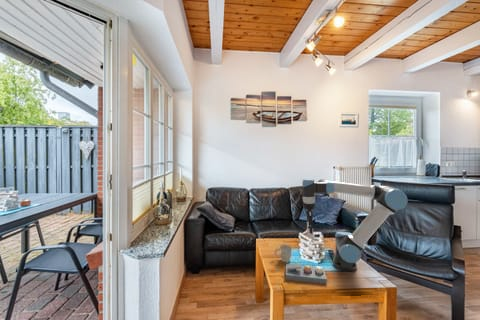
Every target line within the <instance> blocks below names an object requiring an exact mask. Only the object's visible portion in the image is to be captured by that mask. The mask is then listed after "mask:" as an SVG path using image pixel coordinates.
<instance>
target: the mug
mask: <svg viewBox="0 0 480 320" xmlns="http://www.w3.org/2000/svg"><path fill="white" fill-rule="evenodd" d="M292 249H293V247H292V246H291V245H289V244H281V245H280V246H279V248H276V249H275V250H274V255H275V256H276V257H277V258H280V259H281V261H282V262H283V263H290V262H291V256H292V251H293V250H292ZM278 251H280V255H278V254H277V252H278ZM289 261H290V262H289Z"/></svg>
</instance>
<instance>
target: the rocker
mask: <svg viewBox="0 0 480 320" xmlns="http://www.w3.org/2000/svg"><path fill="white" fill-rule="evenodd" d="M301 266H302V263H301V262H297V263H288V269H289V270H292V269H301Z"/></svg>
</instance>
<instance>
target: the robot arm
mask: <svg viewBox="0 0 480 320" xmlns="http://www.w3.org/2000/svg"><path fill="white" fill-rule="evenodd" d="M301 183H302V184H301V185H302V198H301V199H302V207H303V209H304V210H305V211H306V212H305V214H306V229H307V230H306V231H307V232H308V239H314V219H313V218H314V217H313V216H314V215H313V214H314V211H312V210H315V209H316V195H315V194H318V195H321V194H324V195H326V194H327V195H330V194H335V193H336V194H337V193H338V194H343V195H344V194H345V195H351V196H356V197H357V196H359V197H365V198H369V199H370V200H374V201H375V205H374V207H373V209H372V210H370V212H369V213H368V214H367V216H366V217H365V218H364V219H363V220H362V221H361V223H360V224H359V225H358V226H357V227H356V229H355V230H354V231H353V232H352V233H351V232H348V231H336V232H335V236H334V237H335V245H334V246H335V250H334V251H335V252H334V256H333V259H332V266H333V267H334V268H336V269H338V270H342V271H345V272H353V271H356V270H357V269H358V266H357V262H359V261H360V260H361V258H362V252H363V251H364V250H365V249H366V247H365V244H366V243H367V242H368V241H369V239H370V238H371V237H372V236H373V235H374V234H375V233H376V231H377V230H378V229H379V228H380V227H381V226H382V224H383V223H384V222H385V221H386V220H387V219H388V217H389V216H390V215H395V214H396V213H397V212H398V211H400V210H402V209H404V208H406V207H407V205H408V196H407V194H406V193H405V192H404V191H403V190H401V189H399V188H397V187H392V186H391V185H376V184H375V185H374V184H372V185H364V184H359V183H358V184H356V183H349V182H341V181H333V180H326V179H324V178H322V179H319V180H318V181H315V179H313V178H305V179H302V182H301Z"/></svg>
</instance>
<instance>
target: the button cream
mask: <svg viewBox="0 0 480 320" xmlns="http://www.w3.org/2000/svg"><path fill="white" fill-rule="evenodd" d="M315 267H316V274H319V275H322V274H323V268H324V267H322V266H320V265H316V266H315Z"/></svg>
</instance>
